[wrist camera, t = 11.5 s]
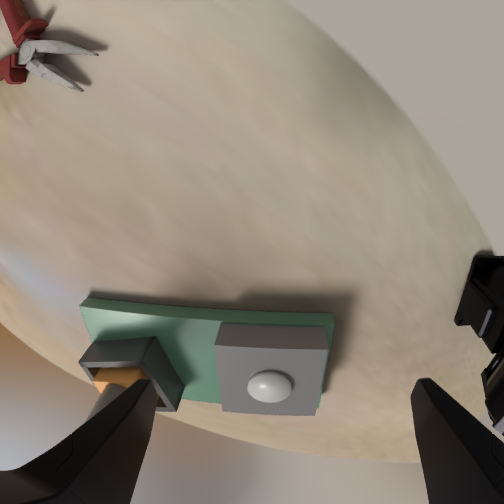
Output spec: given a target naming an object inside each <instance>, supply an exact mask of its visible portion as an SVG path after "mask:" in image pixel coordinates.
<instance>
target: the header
mask: <svg viewBox="0 0 504 504" xmlns="http://www.w3.org/2000/svg"><path fill="white" fill-rule="evenodd" d="M79 364H80V365H81V367H82V368H83V370H84V371H85V373H86V374H87V375H88V377H89V378H90V380H91V381H93V379H94V377H95V376H96V374H97V373H98V371H99V370H100V368H101V367H141V368H142V370H143V371H144V373H145V374H146V376H147V378H148V379H151V380H152V382H153V384H154V387H155V389H156V391H157V393H158V394H159V398H158V400H157V405H156V410H155V411H162V412H177V409H178V406H179V403H180V400H181V398H182V395H183V392H184V389H185V386H184V385H183V383H182V381H181V379H180V378H179V376H178V374H177V373H176V371H175V369H174V367H173V366H172V364H171V362H170V360H169V358H168V357H167V355H166V353H165V351H164V349H163V347H162V346H161V344H160V342H159V340H158V338H157V336H152V337H142V338H131V339H119V340H106V341H93V342H92V344H91V345H90V347H89V348H88V349H87V351H86V352H85V353H84V355H83V356H82V358H81V359H80V360H79ZM93 384H94V383H93ZM96 388H97V387H96ZM98 391H99V390H98ZM99 392H100V391H99Z"/></svg>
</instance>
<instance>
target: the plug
mask: <svg viewBox="0 0 504 504" xmlns="http://www.w3.org/2000/svg"><path fill="white" fill-rule="evenodd" d="M140 378H146V379H148V378H147V376H146V374H145V373H144V371H143V370H142V368H141V367H101V368H100V370H99V371H98V373H97V374H96V376H95V377H94V379H93V381H92V382H93V383H94V385H95V386H96V387H97V389H98V390H99V391H100V393H101V395H100V397H99V399H98V400H97V402H96V404H95V405H94V407H93V409H92V411H91V413H90V414H89V416H88V418H87V420H86V421H88V420H89V419H90V418H91V417H93V416H94V415H95V414H96V413H98V412H99V411H100V410H101V409H102V408H104V407H105V406H106V405H107V404H109V403H110V402H111V401H112V400H114V399H115V398H116V397H117V396H118V395H120V394H121V393H122V392H123V391H125V390H126V389H127V388H128V387H129V386H131V385H132V384H133V383H134V382H135V381H137V380H138V379H140ZM156 392H157V391H156ZM157 396H158V398H159V394H158V393H157Z"/></svg>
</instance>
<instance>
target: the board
mask: <svg viewBox="0 0 504 504" xmlns="http://www.w3.org/2000/svg"><path fill="white" fill-rule="evenodd" d="M79 307H80V311H81V314H82V316H83V319H84V322H85V325H86V328H87V331H88V334H89V336H90V339H91V342H93V341H106V340H119V339H131V338H142V337H152V336H157V338H158V340H159V342H160V344H161V346H162V347H163V349H164V351H165V353H166V355H167V357H168V358H169V360H170V362H171V364H172V366H173V367H174V369H175V371H176V373H177V374H178V376H179V378H180V379H181V381H182V383H183V385H184V386H185V389H184V392H183V395H182V398H181V399H187V400H194V401H202V402H210V403H219V404H222V403H221V396H220V388H219V381H218V373H217V365H216V357H215V348H214V344H215V340H216V337H217V334H218V331H219V327H220V324H221V323H228V324H245V325H266V326H298V327H325V331H326V337H327V345H328V354H327V359H326V364H325V370H324V375H323V380H322V385H321V390H320V394H319V399H318V404H317V408H319V403H320V399H321V394H322V390H323V385H324V380H325V375H326V370H327V365H328V360H329V355H330V349H331V344H332V338H333V332H334V326H335V324H334V319H333V313H300V312H268V311H244V310H225V309H209V308H194V307H180V306H168V305H156V304H145V303H135V302H125V301H115V300H106V299H98V298H89V297H87V298H86V299H85V300H84V301H83V302H82V304H81V305H80V306H79Z"/></svg>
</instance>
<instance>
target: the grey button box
mask: <svg viewBox="0 0 504 504" xmlns="http://www.w3.org/2000/svg"><path fill="white" fill-rule="evenodd" d="M214 348H215V357H216V365H217V373H218V381H219V388H220V396H221V403H222V410H223V411H225V412H236V413H249V414H265V415H292V416H315V413H316V408H317V404H318V399H319V394H320V390H321V385H322V380H323V375H324V370H325V364H326V359H327V354H328V345H327V337H326V331H325V327H298V326H266V325H245V324H228V323H221V324H220V327H219V331H218V334H217V337H216V340H215V344H214Z"/></svg>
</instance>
